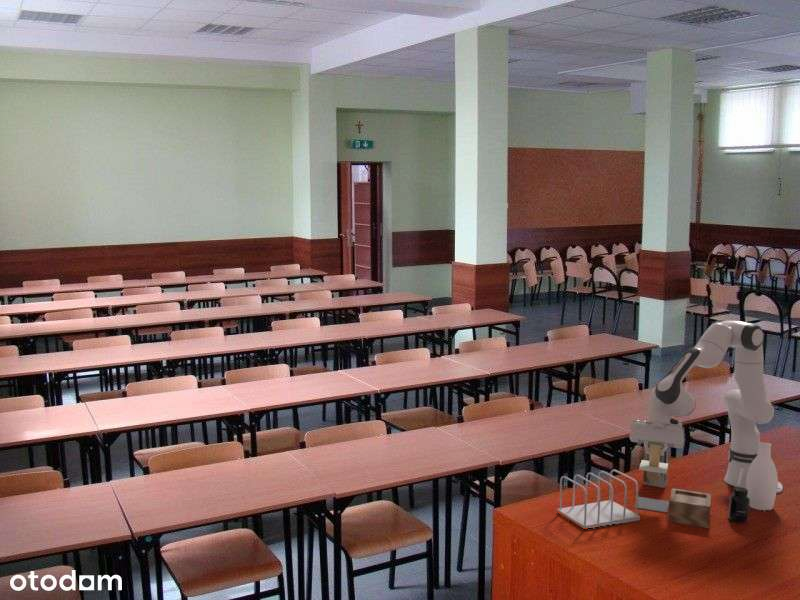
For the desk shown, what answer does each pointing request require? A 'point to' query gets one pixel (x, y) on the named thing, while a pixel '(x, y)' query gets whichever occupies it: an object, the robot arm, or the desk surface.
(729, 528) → the desk surface
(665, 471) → the lid
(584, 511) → the file sorter
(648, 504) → the mat
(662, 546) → the desk surface
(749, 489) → the bottle
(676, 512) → the box
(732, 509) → the supplement bottle
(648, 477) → the coffee box
